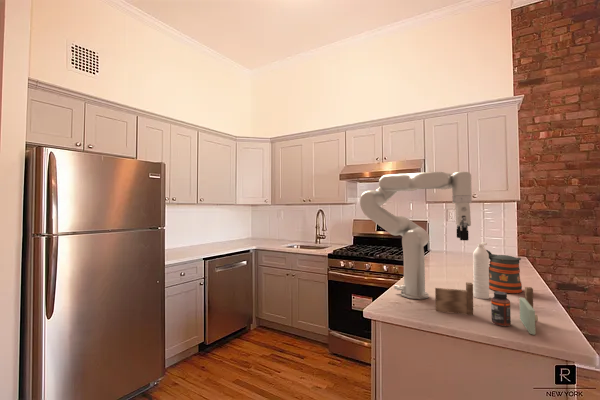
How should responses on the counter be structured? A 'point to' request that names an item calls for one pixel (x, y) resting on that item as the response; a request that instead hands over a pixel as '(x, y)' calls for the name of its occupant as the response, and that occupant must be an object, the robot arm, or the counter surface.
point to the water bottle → (481, 272)
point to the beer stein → (504, 273)
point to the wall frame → (464, 299)
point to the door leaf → (527, 315)
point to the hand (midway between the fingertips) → (462, 239)
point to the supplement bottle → (500, 309)
